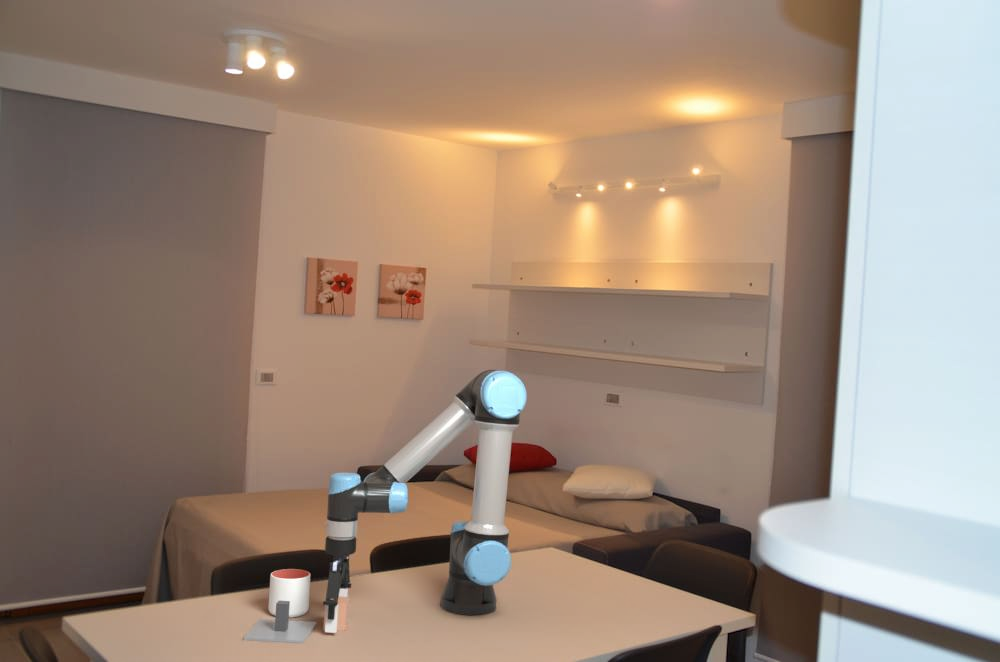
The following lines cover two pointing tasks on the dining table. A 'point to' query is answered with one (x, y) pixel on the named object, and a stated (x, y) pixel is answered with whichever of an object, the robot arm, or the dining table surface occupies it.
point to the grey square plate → (281, 627)
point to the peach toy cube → (341, 613)
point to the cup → (290, 590)
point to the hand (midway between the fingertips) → (336, 623)
